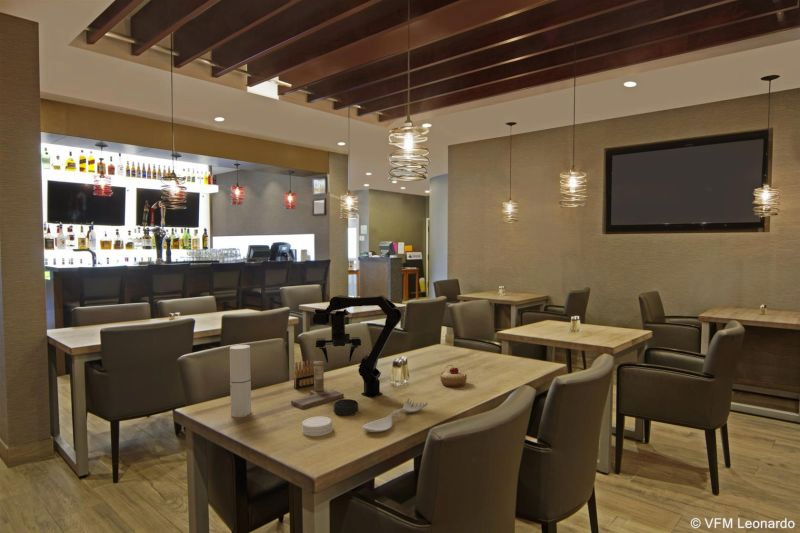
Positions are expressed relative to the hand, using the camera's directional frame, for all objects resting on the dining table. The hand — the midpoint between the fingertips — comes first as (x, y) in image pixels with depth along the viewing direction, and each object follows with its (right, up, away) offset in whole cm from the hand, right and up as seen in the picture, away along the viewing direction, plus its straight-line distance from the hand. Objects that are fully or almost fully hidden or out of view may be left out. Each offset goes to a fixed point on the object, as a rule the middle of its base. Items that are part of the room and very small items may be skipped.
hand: (338, 362), depth 201 cm
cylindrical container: (-33, -14, -24) cm, 43 cm away
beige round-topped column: (-8, -13, -3) cm, 15 cm away
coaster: (-2, -15, -41) cm, 44 cm away
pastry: (+50, -13, +12) cm, 53 cm away
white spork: (+24, -15, -32) cm, 43 cm away
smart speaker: (+6, -14, -23) cm, 28 cm away
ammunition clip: (-16, -13, +9) cm, 22 cm away
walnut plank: (-7, -14, -11) cm, 19 cm away
